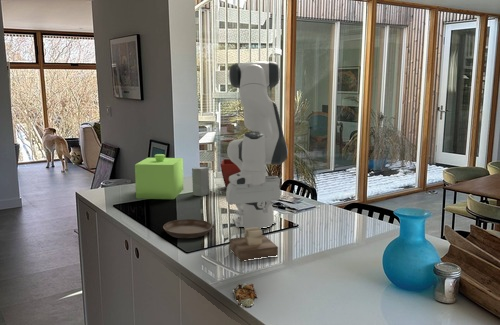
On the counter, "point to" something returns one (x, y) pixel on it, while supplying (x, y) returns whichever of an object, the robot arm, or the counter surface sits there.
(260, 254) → the walnut base
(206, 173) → the skincare box
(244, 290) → the pastry
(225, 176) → the plant pot
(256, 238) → the maple cube
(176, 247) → the counter surface
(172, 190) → the canister
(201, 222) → the plant saucer
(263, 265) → the counter surface
